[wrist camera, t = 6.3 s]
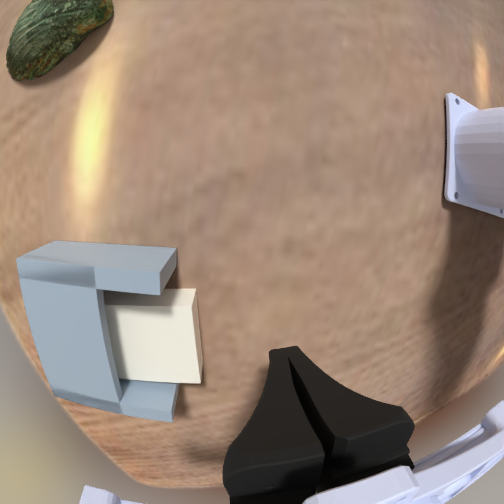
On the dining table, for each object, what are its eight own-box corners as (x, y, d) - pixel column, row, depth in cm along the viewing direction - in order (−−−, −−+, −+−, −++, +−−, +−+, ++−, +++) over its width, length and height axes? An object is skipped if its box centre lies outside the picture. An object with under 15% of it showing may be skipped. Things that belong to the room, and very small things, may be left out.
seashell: (36, -40, 4) (134, -57, 6) (58, -22, 8) (150, -26, 9) (-33, 73, 6) (39, 81, 8) (-1, 78, 10) (76, 93, 12)
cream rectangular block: (196, 286, 15) (191, 306, 13) (203, 357, 17) (200, 383, 14) (76, 285, 15) (56, 301, 12) (93, 350, 16) (79, 372, 13)
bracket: (176, 248, 14) (159, 272, 10) (180, 379, 16) (172, 422, 13) (55, 240, 13) (16, 258, 10) (77, 362, 16) (54, 395, 12)
